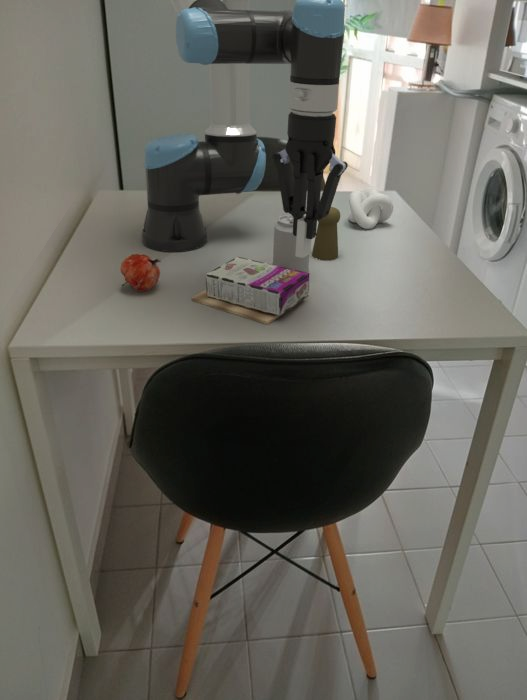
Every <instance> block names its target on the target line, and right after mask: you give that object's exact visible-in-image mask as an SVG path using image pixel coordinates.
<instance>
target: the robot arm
mask: <svg viewBox="0 0 527 700" xmlns="http://www.w3.org/2000/svg"><path fill="white" fill-rule="evenodd" d="M169 1H170V3H171V5H172V7H173V10H174V11H175V13H176V15H177V17H176V21H175V38H176V39H175V40H176V47H177V49H178V50H177V51H178V52H177V53H178V54H179V55H178V56H179V57H180V59H181V60H182V61H183V62H186V63H187V64H188V63H189V64H200V65H203V66H205V65H206V66H207V65H209V87H210V88H209V89H210V91H209V92H210V94H209V95H210V125H209V127H207V129H205V131H204V140H203V141H199V139H198V137H197V136H196V135H194V134H190V133H183V134H181V133H179V134H178V133H177V134H169V135H163V136H160V137H157V138H154V139H151V140H150V141H149V142H148V143H147V144H146V146H145V148H144V163H143V165H144V168H145V184H146V200H147V212H146V215H145V218H144V223H143V228H142V229H141V230H142V231H141V239H142V241H141V242H142V244H143V245H144V246H146V247H147V248H149V249H152V250H157V251H160V252H173V253H174V252H185V251H186V252H187V251H192V250H196V249H199V248H201V247H203V246H205V244H207V243H208V231H207V228H206V226H205V222H204V221H203V216H202V213H201V210H200V196H209V195H221V194H222V195H223V194H237V195H239V194H242V193H248V192H253V191H255V190H257V189H258V188H259V187H260V185H261V183H262V182H263V179H264V176H265V172H266V165H267V163H266V161H267V153H266V148H265V144H264V143H263V141H262V140H261V139H259V138H257V130H255V129H254V127H253V126H252V124H251V122H250V120H251V119H250V118H251V115H250V113H251V112H250V111H251V110H250V108H251V106H250V105H251V104H250V103H251V102H250V101H251V99H250V97H251V94H250V93H251V91H250V90H251V89H250V87H251V83H250V78H251V77H250V76H251V75H250V74H251V73H250V67H251V64H252V65H255V64H256V65H259V64H260V65H270V64H271V65H290V75H289V97H288V98H289V100H288V101H289V103H288V108H289V109H290V110H291V111H290V112H289V113H288V114H287V115H288V116H287V117H288V118H287V137H288V138H287V141H286V142H285V147H284V149H282V150H280V151H278V152H276V153H273V154H272V156H271V157H272V161H273V163H274V164H275V167H276V169H277V177H278V184H279V189H280V191H279V192H280V197H281V203H282V209H283V212H285V213H287V214H288V215H292V216H293V235H294V236H297V238H296V254H295V256H297V257H301V258H304V257H305V256H307V255H309V256H310V254H311V249H312V248H311V247H312V239H315V237H316V232H317V228H318V220H321V219H322V218H324V217H326V216H328V214H329V211H330V208H331V207H332V205H333V201H334V199H335V195H336V192H337V189H338V187H339V183H340V180H341V176H343V174H344V172H345V171H346V170H347V168H348V167H349V164H348V162H346V161H342V160H340V158H338V157H337V155H336V149H335V144H334V141H335V137H336V128H337V126H336V124H337V115H336V114H335V113H334V112H336V111H337V110H338V106H339V105H338V104H339V103H338V102H339V90H340V89H339V87H340V77H341V69H342V68H341V66H342V56H343V48H344V37H345V32H346V25H345V17H346V16H345V15H346V14H345V13H346V6H345V3H344V2H343V0H295V1H294V5H293V10H283V9H282V10H251V9H250V1H251V0H169ZM290 162H291V163H290ZM291 164H292V166H293V172H292V167H291ZM328 165H329V167H328ZM327 167H328V171H329V173H328V175H327V178H326V179H325V180H326V181H325V184H324V188H323V190H322V179H323V177H324V173H325V172H324V170H326V168H327ZM293 178H294V180H293ZM321 192H322V193H321Z"/></svg>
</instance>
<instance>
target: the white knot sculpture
mask: <svg viewBox="0 0 527 700" xmlns="http://www.w3.org/2000/svg"><path fill="white" fill-rule="evenodd" d="M348 197H349V198H348V204H349V208H348V209H349V210H348V214H347V215H348V216H347V217H348V220H349V221H350V222H352V224H353V223H354V224H356V223H357V225H359V227H360V228H363V229H365V230H371V229H373V228H374V227H376V225H377V224H381V223H385V222H386V221H388V220H389V219H390V218H391V216H392V214H393V212H394V204H393V200H392V198H391V197H390V196H388V195H387V194H385V193H382V192H380V190H379V189H378V188H377V187H375V186H368V187H366V188H363V189H362V190H360V189H355V190H352V191H351V193H350V194H349V196H348Z"/></svg>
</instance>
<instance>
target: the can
mask: <svg viewBox="0 0 527 700" xmlns="http://www.w3.org/2000/svg"><path fill="white" fill-rule="evenodd" d="M273 228H274V230H273V251H272V253H273V254H272V265H276V266H280V267H285V268H289V269H294V270H298V271H302V272H307V273H309V264H310V254H309V255H307V256H305V257H304V258H301V257H297V256H295V254H296V238H297V236H294V235H293V216H292V215H291V214H285V215H281V216H279V217H277V222H276V223H275V224H274V227H273Z"/></svg>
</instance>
